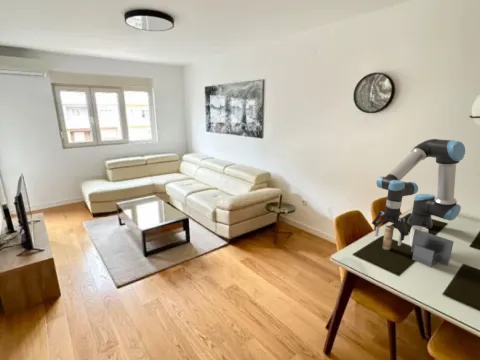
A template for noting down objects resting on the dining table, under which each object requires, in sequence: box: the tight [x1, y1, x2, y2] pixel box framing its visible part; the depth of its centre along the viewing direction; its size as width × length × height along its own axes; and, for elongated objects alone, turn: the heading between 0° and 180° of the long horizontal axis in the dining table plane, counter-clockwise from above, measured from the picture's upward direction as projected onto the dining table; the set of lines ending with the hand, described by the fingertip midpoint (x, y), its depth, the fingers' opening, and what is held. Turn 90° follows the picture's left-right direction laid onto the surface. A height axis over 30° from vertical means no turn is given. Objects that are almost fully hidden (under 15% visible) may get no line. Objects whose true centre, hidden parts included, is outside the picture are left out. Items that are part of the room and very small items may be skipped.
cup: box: [409, 226, 430, 248], centre depth 158 cm, size 9×9×12 cm
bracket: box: [410, 229, 455, 268], centre depth 143 cm, size 10×18×14 cm, turn 34°
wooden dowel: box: [381, 225, 395, 251], centre depth 156 cm, size 4×4×14 cm
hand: (387, 240), depth 156 cm, fingers open, 13 cm apart
